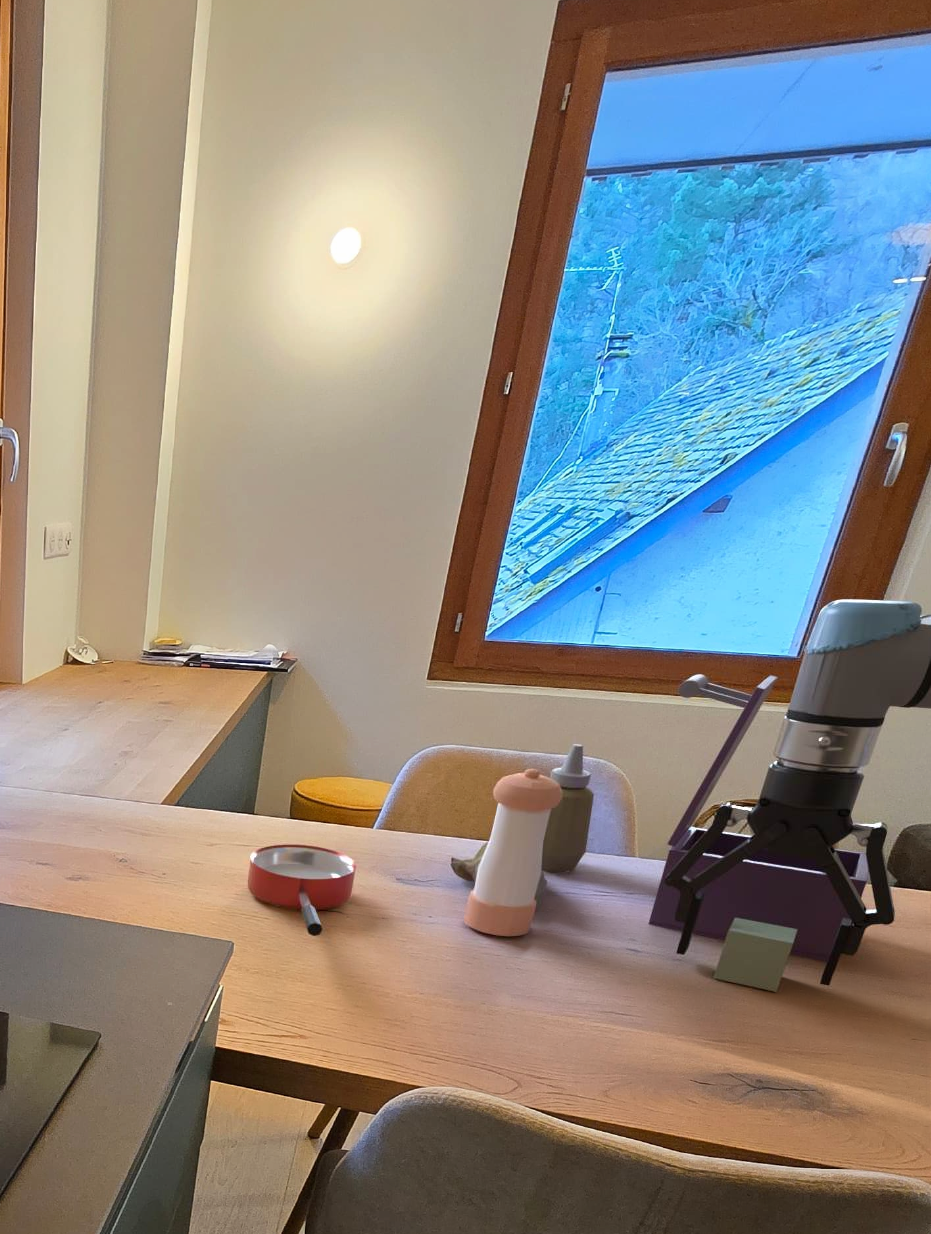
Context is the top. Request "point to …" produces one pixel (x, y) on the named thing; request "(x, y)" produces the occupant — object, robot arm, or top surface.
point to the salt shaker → (513, 855)
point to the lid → (751, 708)
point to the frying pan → (301, 879)
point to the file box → (762, 893)
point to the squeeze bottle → (568, 816)
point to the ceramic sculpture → (470, 867)
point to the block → (755, 954)
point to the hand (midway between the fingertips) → (751, 965)
